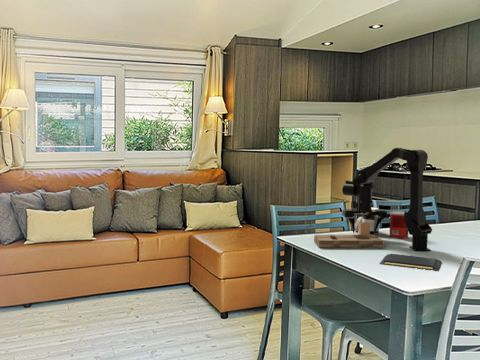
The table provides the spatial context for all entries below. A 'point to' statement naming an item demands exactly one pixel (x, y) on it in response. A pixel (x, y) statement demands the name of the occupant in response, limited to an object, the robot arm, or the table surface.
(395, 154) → the robot arm
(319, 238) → the bore block
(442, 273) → the table surface
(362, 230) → the square peg
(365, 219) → the spread jar
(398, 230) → the canned food
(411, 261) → the dark grey flat slab
